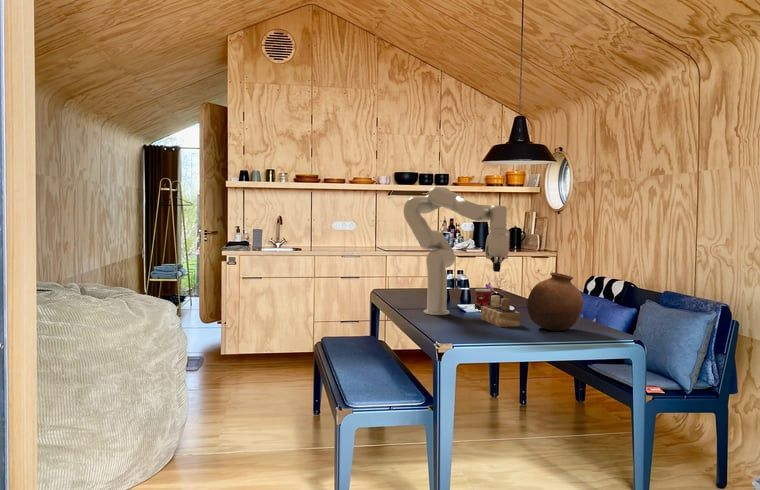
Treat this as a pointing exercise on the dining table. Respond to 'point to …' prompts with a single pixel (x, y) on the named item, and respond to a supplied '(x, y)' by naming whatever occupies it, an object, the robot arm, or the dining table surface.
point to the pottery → (555, 303)
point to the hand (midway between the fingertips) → (496, 271)
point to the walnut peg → (505, 304)
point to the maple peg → (495, 301)
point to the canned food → (482, 298)
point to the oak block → (500, 316)
